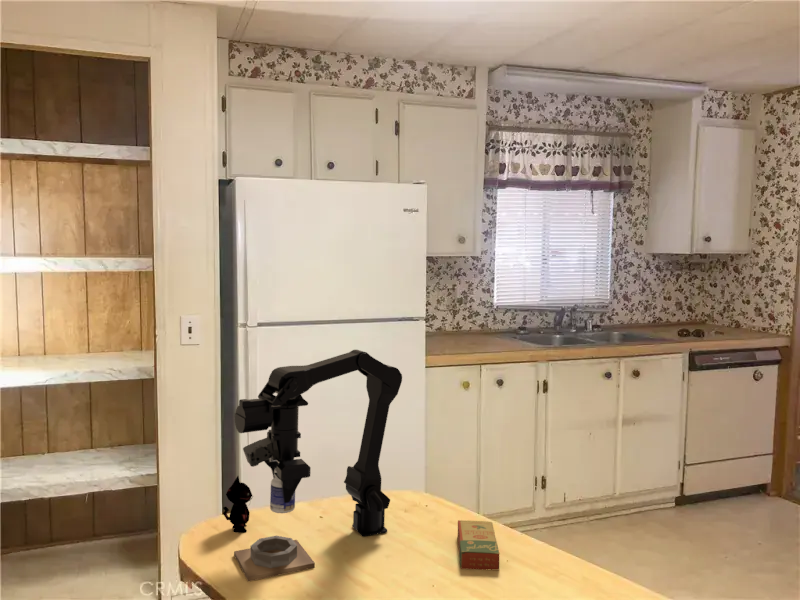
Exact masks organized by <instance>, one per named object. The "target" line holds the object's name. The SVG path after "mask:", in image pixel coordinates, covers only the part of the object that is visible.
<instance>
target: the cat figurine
mask: <svg viewBox="0 0 800 600" xmlns="http://www.w3.org/2000/svg"><path fill="white" fill-rule="evenodd" d="M225 495H226V497H227V499H228V501H229V502H231V504H232V506H231V509H230V510H229V507H227V506H223V510H224V511H223V514H222V515H223V516H224V518H225V519H226V520H227V521H230V523H231V524H232V532H233V533H237V534H246V533H247V529H246V527H247V523H248V522H249V521H250V510H249V508H248V506H250V505H251V503H249V504H247V503H248V502H251V500H252V499H253V497H254V496H253V494H252V491H251V489H250V487H249V486H248V485H247V484H246V483H244V482H241V481H240V477H239V475H237V476H236V478H235V479H234V481H233V482H232V484H231V485H230V487H229V488H228V489H227V491H226V493H225ZM229 511H230V512H229ZM228 513H229V515H228Z"/></svg>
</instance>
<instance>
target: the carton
mask: <svg viewBox="0 0 800 600" xmlns="http://www.w3.org/2000/svg"><path fill="white" fill-rule="evenodd" d="M457 545H458V546H457V547H458V557H459V569H462V570H482V569H483V571H484V570H486V569H487V571H488V569H491V570H490V571H493V570H492V569H499V570H500V551H499V547H498V541H497V537H496V534H495V529H494V524H493V521H486V520H462V519H461V520H460V519H459V520H457Z"/></svg>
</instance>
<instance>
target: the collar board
mask: <svg viewBox="0 0 800 600" xmlns="http://www.w3.org/2000/svg"><path fill="white" fill-rule="evenodd" d="M233 556H234V558H235V560H236V562H237V564H238V565H239V568H240V569H241V571H242V573H243V575H244V576H245V578H246V580H247V582H252V581H256V580H257V581H258V580H261V579H266V578H271V577H276V576H280V575H287V574H289V573H295V572H299V571H305V570H310V569H313V568H316V567H315V565H316V564H315V561H314V560H313V559H312V557H311V556H310V554H309V553H308V552H307V551H306V549H305V548H304V547H303V545H301V543H300V542H299V540H297V539H293V538H291V537H286V536H282V535H272V536H266V537H261V538H260V537H259V539H257V540H256V541H255V542H253V543H252V544H251V545H250V547H249V548H244V549H240V550H239V549H238V550H234V552H233Z"/></svg>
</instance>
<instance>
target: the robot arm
mask: <svg viewBox="0 0 800 600" xmlns="http://www.w3.org/2000/svg"><path fill="white" fill-rule="evenodd" d="M356 371H358V372H359V373H360V374H362V375H363V376H364V377H366V386H365V388H366V391H367V395H368V406H367V411H366V417H365V420H364V421H365V422H364V427H363V432H362V436H361V443H360V449H359V453H358V458H357V461H356V462H355V463H354V465H353V466H351V465H350V466H349V465H348V466H347V467H346V477H345V479H344V481H343V483H344V484H345V490H346V492H347V493H348V494H349V496H351V498H352V499H351V500H352V501H354V502H355V504H354V505H355V506H354V507H355V510H354V511H353V512H352V514H353V517H352V518H353V522H352V525H351V526H352V527H351V528H353V529H354V531H356V532H357V533H358V534H359V535H360V536H361V537H370V536H374V535H379V534H385V533H388V529H387V528H386V527H385V515H386V514H385V510H386V509H388V508H389V506H390V503H391V499H390V498H389V497H388V496H387V495H386V494H385V493H384V492H383V491H382V474H381V470H380V466H379V463H380V457H381V452H382V447H383V441H384V437H385V431H386V425H387V421H388V417H389V416H388V415H389V410H390V406H391V404H392V402H393V401H394V399H395V398H396V397H397V396H398V394H399V391H400V388H401V385H402V382H403V374H402V372H401V371H400V369H398V368H397V367H395V366H391V365H389V364H385V363H383V362H381V361H380V360H378V359H376V358H374V357H373V356H371V355H370V354H369V353H368V352H366V351H363V350H359V349H352V350H350V351H349V352H345V353H342V354H339V355H336V356H333V357H330V358H326V359H323V360H320V361H319V360H318V361H317V362H314V363H310V364H305V365H287V366H279V367H276V368H274V369H272V371H271V373H270V374H269V377H268V380H267V382H266V384H265V385H264V387H263V388H262V390H260V392H259V393H258V395H257V398H253V399H252V398H251V399H246V398H243V399H239V400H238V405H237V407H236V409H235V413H234V425H235V429H236V431H237V432H238V433H239V434H245V433H253V432H261V431H267V430H268V431H267V432H266V433H267V434H266V437H265V438H262V439H259V440H257V441H254V442H252V443H250V444H248V445H245V446H244V447H243V448H242V451H243V453H244V456H245V458H246V459H245V460H246V461H247V463H248V465H249V466H250V467H257V466H259V464H261V463H263V462H264V463H265V464H266V465H267V466H268V467H269V468H270V469H271V474H272V479H273V478H275V476H274V474H275V475H276V476H277V477H278V478H279V479H280V480H281V485H282V492H283V499H284V502H285V503H288V502H290V500H291V498H292V496H293V494H294V492H295V493H296V490H297V488H298V486H299V485H300V482H301V481H302V479H305V478H307V479H308V478H310V477H311V466H310V465H309V464H308V463H307V462H305V460H303V459H302V458H300V457H301V451H299V449H298V448H299V447H298V446H299V444H298V443H299V439H301V438H302V436H301V434H302V433H301V432H300V431H299V408H300V407H305V406H309V402H308V401H307V400H306V399H304V397H303V396H302V395H303V394H304V393H307V392H308V391H309V390H310V389H311V388H312V387H313V386H315V385H317V384H319V383H323V382H326V381H328V380H331V379H334V378H337V377H340V376H344V375H346V374H350V373H353V372H356ZM275 394H276V395H275ZM269 428H270V429H269ZM295 458H296V459H295ZM275 468H277V473H274V469H275Z"/></svg>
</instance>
